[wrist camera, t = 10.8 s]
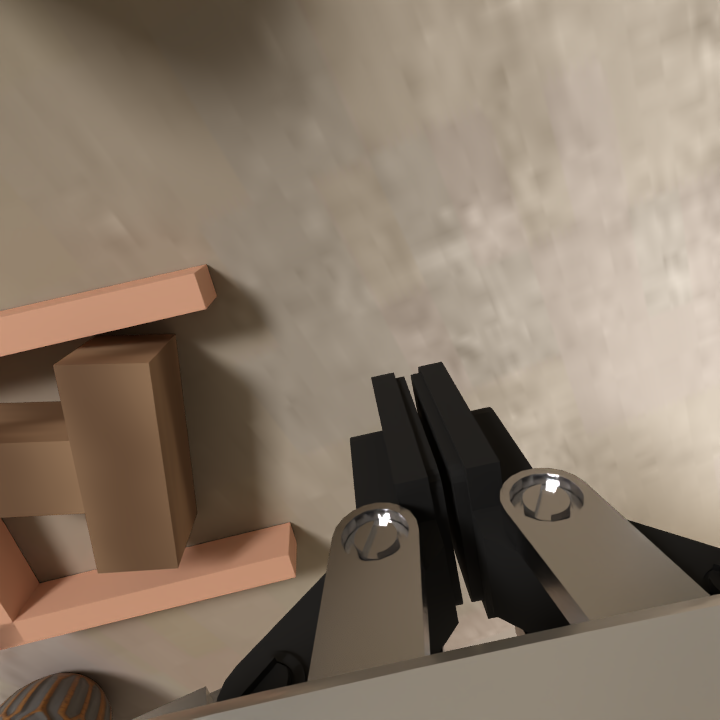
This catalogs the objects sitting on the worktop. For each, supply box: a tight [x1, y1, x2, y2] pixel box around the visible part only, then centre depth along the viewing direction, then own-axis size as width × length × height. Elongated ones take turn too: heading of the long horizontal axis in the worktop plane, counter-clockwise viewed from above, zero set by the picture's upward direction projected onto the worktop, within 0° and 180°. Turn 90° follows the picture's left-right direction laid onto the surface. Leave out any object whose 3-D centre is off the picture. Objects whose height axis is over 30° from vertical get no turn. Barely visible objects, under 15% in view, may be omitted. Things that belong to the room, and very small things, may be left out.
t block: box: [0, 334, 197, 574], centre depth 21 cm, size 10×10×4 cm
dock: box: [0, 264, 297, 650], centre depth 23 cm, size 16×16×2 cm
